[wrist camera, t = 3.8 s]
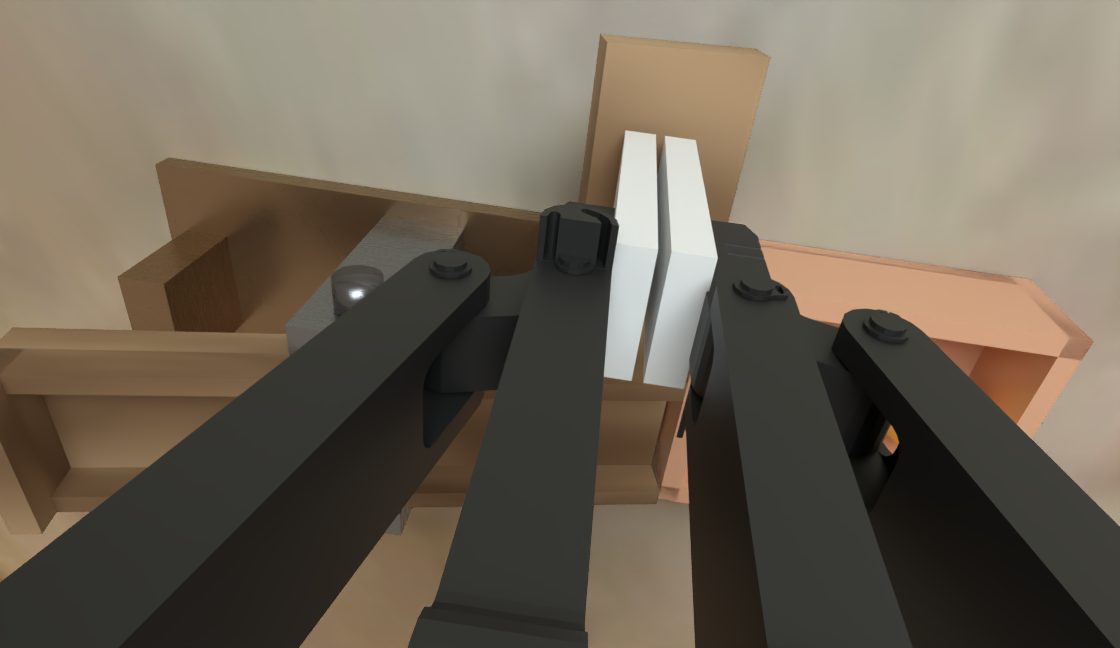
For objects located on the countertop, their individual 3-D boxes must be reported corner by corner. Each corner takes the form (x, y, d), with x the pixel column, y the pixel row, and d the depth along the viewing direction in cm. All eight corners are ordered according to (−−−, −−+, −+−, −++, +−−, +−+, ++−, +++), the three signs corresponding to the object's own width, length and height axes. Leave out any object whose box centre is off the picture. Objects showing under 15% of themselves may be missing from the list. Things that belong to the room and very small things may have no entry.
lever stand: (655, 431, 29) (654, 599, 22) (211, 359, 30) (73, 498, 23) (703, 228, 24) (723, 361, 17) (167, 149, 25) (-29, 244, 18)
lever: (655, 457, 24) (676, 522, 22) (64, 458, 21) (10, 534, 19) (755, 48, 17) (805, 76, 14) (-130, -36, 14) (-261, -19, 11)
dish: (924, 473, 28) (961, 549, 25) (657, 430, 29) (657, 498, 26) (1030, 279, 23) (1093, 341, 20) (705, 231, 24) (713, 284, 21)
